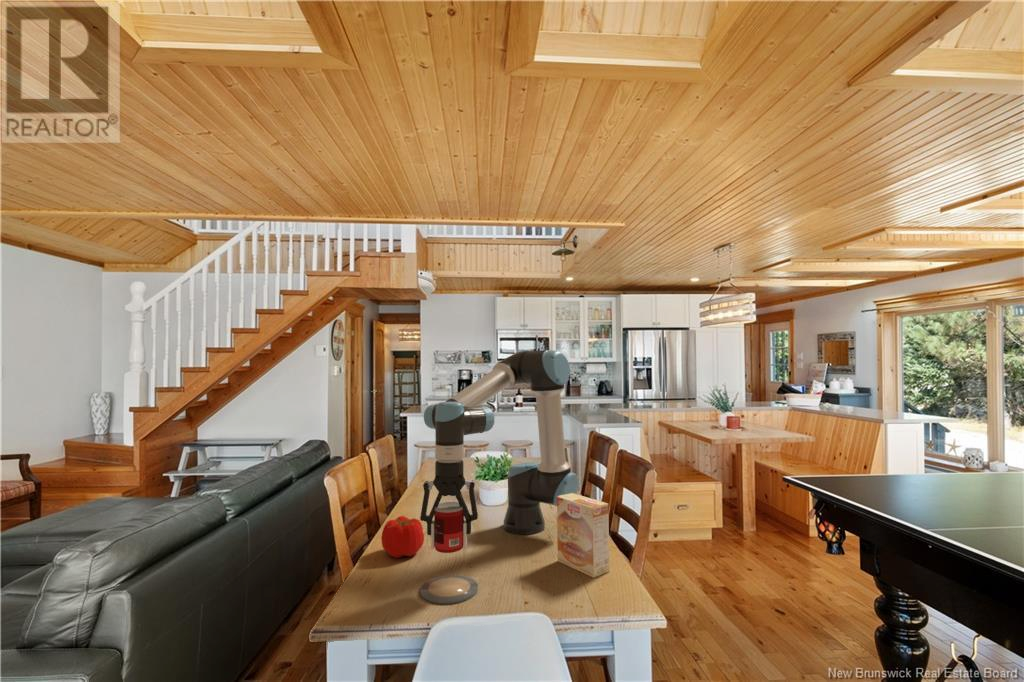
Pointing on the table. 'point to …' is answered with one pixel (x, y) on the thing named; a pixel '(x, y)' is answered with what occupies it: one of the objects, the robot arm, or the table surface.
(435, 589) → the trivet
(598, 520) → the coffeecake box
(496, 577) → the table surface
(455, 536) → the canned food
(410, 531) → the tomato
